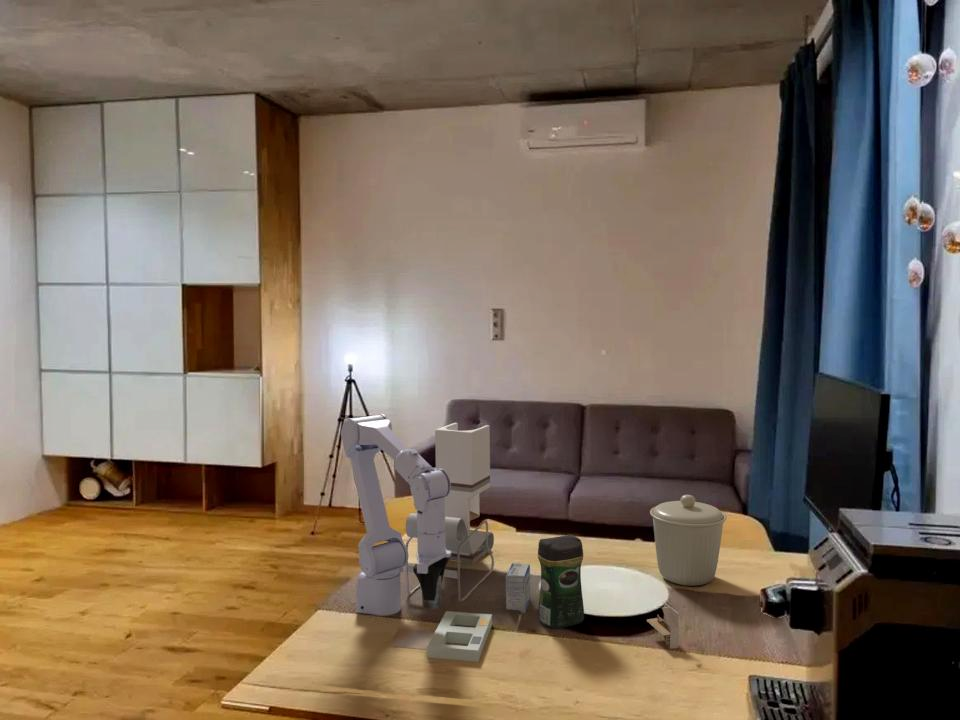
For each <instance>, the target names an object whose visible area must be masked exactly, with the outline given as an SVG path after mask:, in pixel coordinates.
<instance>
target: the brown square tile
mask: <svg viewBox="0 0 960 720" xmlns="http://www.w3.org/2000/svg"><path fill="white" fill-rule="evenodd" d="M435 631H436V630H426V629H424V630H423V629H412V628H411V629H410V628H398V629H397V630H396V632H395V634H394V635H393V637H392V639H391V640H390V642H389V643H388V645H387V647H390V648H399V649H400V648H402V649H414V650H416V649H417V650H424V651H425V650H426V651H427V646H428V644H429V642H430V640H431V638H432V637H433V635H434V633H435Z"/></svg>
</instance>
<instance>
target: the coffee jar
mask: <svg viewBox="0 0 960 720" xmlns="http://www.w3.org/2000/svg"><path fill="white" fill-rule="evenodd" d="M537 559H538V562H539V564H540V585H539V587H540V588H539V596H538V597H539V598H538V606H537V607H538V609H537V610H538V611H537V616H538V617H537V618H538V619H539V621H540V623H542V624H543V625H544V626H546V627H549V628H553V629H560V628H561V629H562V628H567V627H571V626H576V625H579V624H581V623H582V622H583V621H584V619H585V607H584V601H583V600H584V598H583V590H582V577H581V573H582V571H581V570H582V563H583V560H584V549H583V542H582V540H581V539H580V538H579V537H577V536H576V535H573V534H571V533H570V534H568V535H562V536H553V537H547V538H541V539H539V541H538V548H537Z"/></svg>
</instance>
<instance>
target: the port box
mask: <svg viewBox="0 0 960 720" xmlns="http://www.w3.org/2000/svg"><path fill="white" fill-rule="evenodd" d="M492 626H493V614H490V613H474V612H462V611H451V610H450V611H448V610H447V611H445V612H444V614H443V616H442V618H441V620H440V622H439V623H438V625H437V627H436V629H435V630H434V631H435V633H434V635H433V637H432V638H431V640H430V642H429V644H428V646H427V649H426V651H427V652H426V653H427V655H426V656H427V658H429V659H430V658H431V659H441V660H452V661H454V660H455V661H466V662H477V663H479V661H480V659H481V656H482V653H483V651H484V648H485V645H486V642H487V639H488V637H489V635H490V631H491V629H492ZM447 643H452V644H447ZM455 644H456V645H455ZM457 644H463V645H457ZM464 644H465V645H464Z"/></svg>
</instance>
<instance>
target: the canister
mask: <svg viewBox="0 0 960 720" xmlns="http://www.w3.org/2000/svg"><path fill="white" fill-rule="evenodd" d="M649 514H650V516H651V517H652V521H653V533H654V535H653V536H654V543H655V553H656V559H657V560H656V561H657V568H658V570H659V574H660V575H661V576H662V578H664V579H665V580H666V581H668V582H671V583H674V584H676V585H681V586H688V587H691V586H692V587H694V586H695V587H696V586H702V585H703V586H704V585H706V584H708V583H710V582H712V581H713V580H714V578H715V575H716V573H717V568H718V562H719V558H720V557H719V555H720V550H721V543H722V534H723V529H724V528H723V527H724V523H725V522H726V521H727V515H726V514H725V512H724V511H722V510H720V509H718V508H717V507H715V506H713V505H711V504H708V503H705V502H698V501H696V498H695V497H694V496H693V495H691V494H684V495H682V496H681V497H680V500H673V501H665V502H662V503H659V504H658V505H656V506H654V507H652V508H650V511H649Z"/></svg>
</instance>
